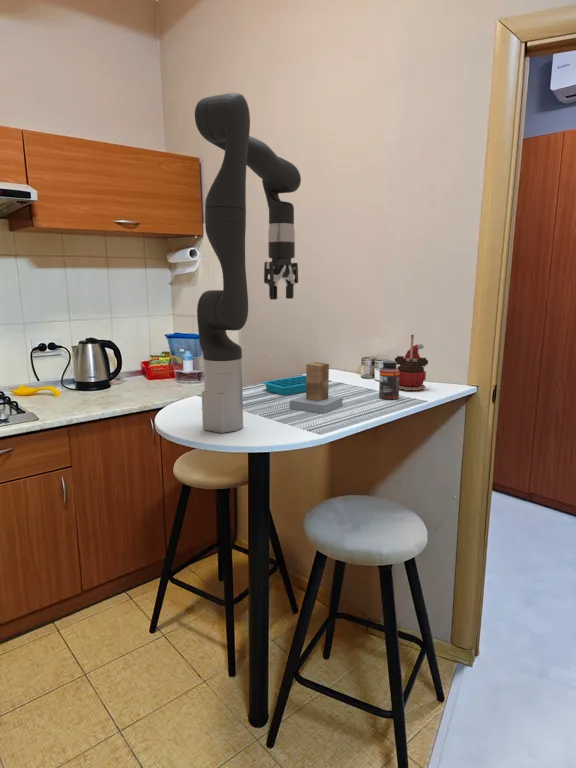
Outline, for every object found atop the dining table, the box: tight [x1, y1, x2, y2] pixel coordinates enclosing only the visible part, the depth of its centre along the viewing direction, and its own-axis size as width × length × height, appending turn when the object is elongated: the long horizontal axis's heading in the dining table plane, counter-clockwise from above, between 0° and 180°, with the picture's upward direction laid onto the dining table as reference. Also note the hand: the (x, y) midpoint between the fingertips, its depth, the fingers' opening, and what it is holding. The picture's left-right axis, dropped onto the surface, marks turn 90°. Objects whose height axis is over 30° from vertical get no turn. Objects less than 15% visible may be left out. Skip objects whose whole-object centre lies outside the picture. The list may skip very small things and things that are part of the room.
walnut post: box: [305, 361, 330, 401], centre depth 146 cm, size 4×4×10 cm
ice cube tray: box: [262, 374, 306, 396], centre depth 171 cm, size 12×20×3 cm, turn 130°
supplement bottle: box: [378, 360, 400, 400], centre depth 157 cm, size 6×6×11 cm
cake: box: [394, 334, 429, 391], centre depth 169 cm, size 11×9×18 cm
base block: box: [289, 394, 344, 415], centre depth 147 cm, size 11×11×3 cm
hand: (281, 299), depth 150 cm, fingers open, 8 cm apart
